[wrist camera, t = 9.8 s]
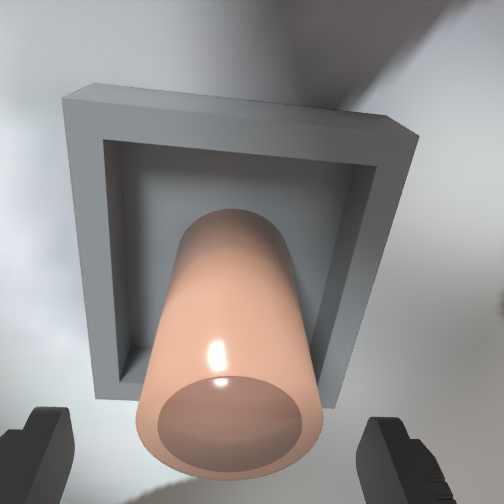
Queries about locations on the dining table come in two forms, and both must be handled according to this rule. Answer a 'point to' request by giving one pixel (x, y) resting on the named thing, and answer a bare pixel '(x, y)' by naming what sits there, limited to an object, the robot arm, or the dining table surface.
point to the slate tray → (226, 197)
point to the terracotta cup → (230, 356)
